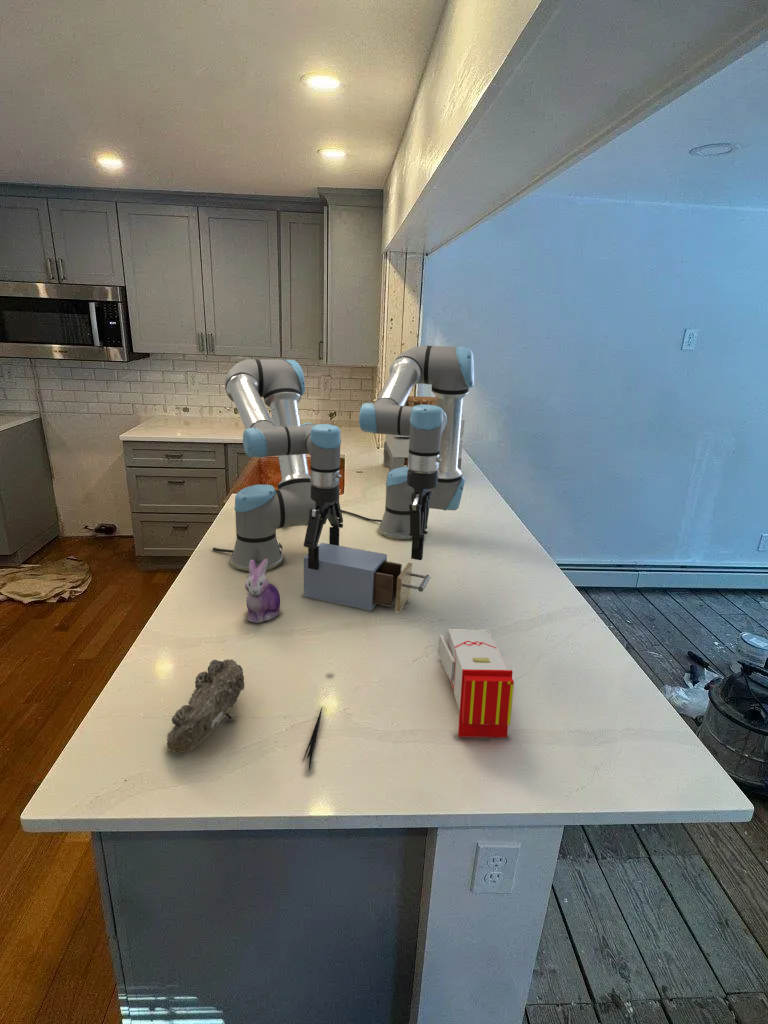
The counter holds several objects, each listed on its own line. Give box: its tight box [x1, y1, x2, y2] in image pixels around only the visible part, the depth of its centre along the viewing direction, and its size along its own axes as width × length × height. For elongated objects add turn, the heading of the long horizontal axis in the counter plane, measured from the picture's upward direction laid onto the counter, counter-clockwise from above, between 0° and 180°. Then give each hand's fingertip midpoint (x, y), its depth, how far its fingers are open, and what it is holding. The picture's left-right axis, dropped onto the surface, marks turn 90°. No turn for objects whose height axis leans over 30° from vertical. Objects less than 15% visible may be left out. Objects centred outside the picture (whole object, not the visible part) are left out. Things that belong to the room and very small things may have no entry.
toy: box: [437, 628, 515, 738], centre depth 117 cm, size 12×13×30 cm
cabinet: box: [303, 542, 388, 611], centre depth 154 cm, size 20×11×12 cm, turn 71°
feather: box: [301, 673, 332, 771], centre depth 108 cm, size 2×28×2 cm
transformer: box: [383, 395, 465, 472], centre depth 268 cm, size 34×33×41 cm
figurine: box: [244, 559, 282, 624], centre depth 141 cm, size 9×10×15 cm
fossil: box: [166, 658, 245, 754], centre depth 106 cm, size 22×10×15 cm
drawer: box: [373, 560, 432, 613], centre depth 151 cm, size 24×10×10 cm, turn 71°
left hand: (324, 558), depth 155 cm, fingers open, 13 cm apart
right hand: (416, 558), depth 146 cm, fingers closed
